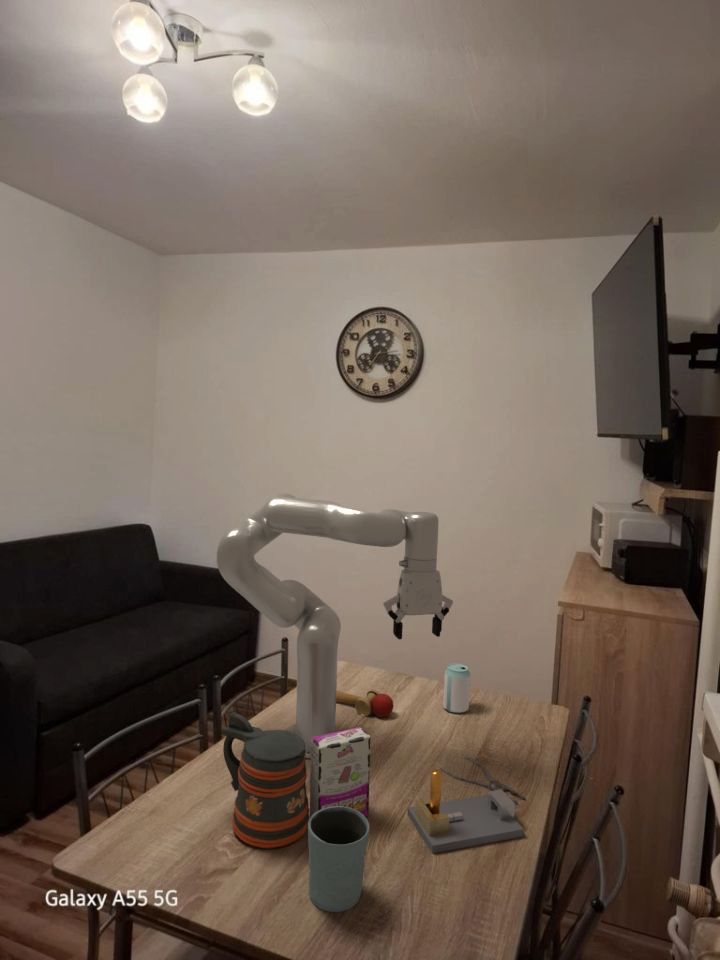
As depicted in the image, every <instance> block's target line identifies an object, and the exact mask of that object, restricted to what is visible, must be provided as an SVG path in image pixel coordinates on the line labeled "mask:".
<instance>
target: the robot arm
mask: <svg viewBox="0 0 720 960" xmlns="http://www.w3.org/2000/svg"><path fill="white" fill-rule="evenodd" d="M282 534H291V535H292V534H293V535H300V536H301V535H302V536H310V537H317V538H318V537H319V538H327V539H331V540H335V541H341V542H345V543H350V544H355V545H356V544H357V545H362V546H369V547H371V546H372V547H380V548H392V547H395V546H398V545H399V544H401V543H402V542H403V540H404V542H405V544H404V556H403V559H402V560H399V562H398V565H399V567H403V569H401V572H400V575H399V579H398V584H397V593H396V595H395V596H393V597H391V598H390V599H387V600H386V601H384V602H383V607H384V609H385V611H386V614H387V615H388V616H389V617H390V618H391V619H392V620H393V627H392V633H393V635H394V637H396V639H398V640H402V639H403V622H402V620H403V619H404V618H405V617H406V616H425V615H427V616H428V615H434V616H432V624H431V625H432V626H431V633H432V634H433V635H435V637H438V638H439V637H440V636H441V632H442V630H443V629H442V628H443V620H445V617H446V616H447V614H449V612H450V609H451V607H452V605H453V603H454V601H453V600H452V599H451V598H449V597H447V596H446V595H443V587H442V579H441V578H442V577H441V573H440V572H441V571H440V570H437V564H438V541H439V516H437V514H435V513H433V512H428V511H414V512H409V511H404V510H397V509H391V508H387V509H383V510H381V511H379V512H377V513H376V512H370V511H369V512H368V511H361V510H357V509H356V510H355V509H352V508H347V507H345V506H343V505H341V504H339V503H337V502H334V501H329V500H319V499H307V498H301V497H296V496H294V495H292V494H290V493H279V494H276V495H274V496H273V497H270V498H269V499H268V500H267V501H266V502H265V504H264V505H262V506H261V507H260V508H259V509H257V510H255V511H254V512H253V513H252V514H250V515H249V516H247V517H246V518H245V519H243V520H242V521H241V522H239V523H237V524H236V525H233V526H232V527H230V528H229V529H227V530H226V532H225V533H223V535H222V537H221V539H220V541H219V542H218V546H217V550H216V565H217V568H218V571H219V573H220V575H221V576H222V578H223V580H224V581H225V582H226V583H227V584H228V585H229V586H230V587H231V588H233V590H235V592H237V593H238V594H240V596H242V597H243V598H244V599H245V600H246V601H247V602H248V603H250V605H252V606H253V607H254V608H255V609H256V610H257V611H259V612H260V613H261V614H262V615H263V616H264V617H266V619H268V620H269V621H270V622H271V623H272V624H274V625H276V627H279V628H284V629H287V628H291V627H293V626H295V628H297V629H298V630H299V631H298V633H297V639H296V662H297V667H296V673H297V674H296V675H297V676H296V701H295V704H296V705H295V708H296V709H295V710H296V711H295V724H292V728H291V729H288V731H290V732H293V733H295V734H297V735H299V736H300V737H301V738H302V739H303V740H304V742H305V749H306V754H305V759H309V760H311V738H312V737H316V736H321V735H326V734H330V733H335V732H336V721H337V720H336V717H337V715H336V714H337V702H336V691H338V690H337V688H338V687H337V685H338V683H337V682H338V681H337V680H338V650H339V639H340V635H341V634H340V633H341V628H342V625H341V620H340V618H339V616H338V613H336V611H335V610H334V609H333V608H331V607H330V605H329V604H327V602H325V601H323V599H321V598H320V597H319V596H317V594H315V593H314V592H313V591H312V590H311V589H309V588H308V587H307V586H306V585H304V584H303V583H302V582H300V581H298V580H295V579H284V580H282V581H281V580H280V579H279V578H278V577H277V576H275V574H273V573H272V571H270V570H269V569H267V568H266V567H265V566H263V565H261V564H260V563H258V562H257V560H256V558H255V555H256V554H257V553H259V552H260V550H262V549H263V548H265V547H266V546H267V545H268V544H270V543H271V542H273V541H274V540H275V539H277V538H278V537H280V536H281V535H282ZM443 603H444V604H443ZM394 605H396V610H395V611H393V606H394Z"/></svg>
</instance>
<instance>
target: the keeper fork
mask: <svg viewBox="0 0 720 960" xmlns="http://www.w3.org/2000/svg"><path fill="white" fill-rule="evenodd" d="M415 806H416V810H415V815H416V817H417V818H418V820H419V821H420V823H421V824H422V826H423V827H424V829H425V831H426V832H427V834H428V835H429V836H433V835H439V834H444V833H449V818H450V817H449V816H448V815H447V813H440V814H433V815H432V814H431V812H430V797H429V798H428V797H427V798H422V799H416V800H415Z"/></svg>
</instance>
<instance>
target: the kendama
mask: <svg viewBox="0 0 720 960" xmlns="http://www.w3.org/2000/svg"><path fill="white" fill-rule="evenodd" d="M340 702H341V704H353V705H354V706H355V707H354V708H355V710H356V712H357V713H358V714H359V715H360V714H363V715H365V716H364V717H368V716H369V715H370V714H371V713H372V712H373V713H374V715H375V716H377V717H379V718H386V717H388V716H391V714H392V712H393V710H394V701H393V699H392V697H391V696H389V695H388V694H387V693H380V692H379V691H378V690H376V689H373V688H372V689H371V690H370V689H369V691H367V694H366V697H361V696H358V695H354V694H351V693H345V692H342V691H338V690H337V691H336V703H340ZM363 715H362V716H363Z"/></svg>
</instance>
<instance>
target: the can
mask: <svg viewBox="0 0 720 960" xmlns="http://www.w3.org/2000/svg"><path fill="white" fill-rule="evenodd" d="M446 667H447V668H446V669H445V671H444V680H443V681H444V683H443V700H442V701H443V703H442V705H443V706H442V707H443V708H444V709H445V710H446V711H447V710H448V711H447V712H449V713H453V714H463V713H465V712H467V711H468V710H469V708H470V691H471V690H470V689H471V672H470V671H469V667H468V666H467V665H466V664H462V663H450V664H448V665H447V666H446Z"/></svg>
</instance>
